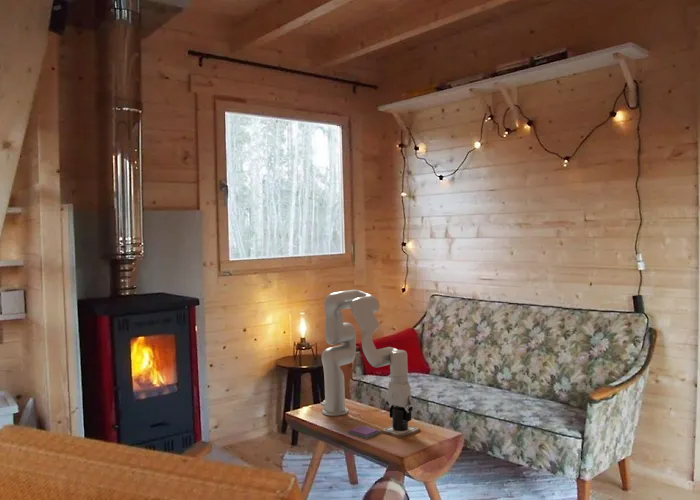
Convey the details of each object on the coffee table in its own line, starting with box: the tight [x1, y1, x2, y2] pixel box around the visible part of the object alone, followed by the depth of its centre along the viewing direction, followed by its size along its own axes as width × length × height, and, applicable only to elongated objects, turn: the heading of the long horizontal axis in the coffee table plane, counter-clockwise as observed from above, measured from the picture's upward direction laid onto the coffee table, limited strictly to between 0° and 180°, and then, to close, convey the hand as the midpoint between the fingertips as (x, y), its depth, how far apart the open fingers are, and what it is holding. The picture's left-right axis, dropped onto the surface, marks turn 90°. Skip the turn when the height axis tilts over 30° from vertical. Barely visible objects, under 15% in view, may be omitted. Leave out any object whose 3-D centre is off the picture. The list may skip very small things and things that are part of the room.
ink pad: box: [347, 425, 382, 440], centre depth 269 cm, size 11×9×2 cm
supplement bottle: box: [391, 406, 409, 431], centre depth 270 cm, size 7×7×12 cm
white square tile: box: [380, 425, 421, 439], centre depth 270 cm, size 12×12×1 cm
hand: (400, 418), depth 270 cm, fingers open, 8 cm apart
